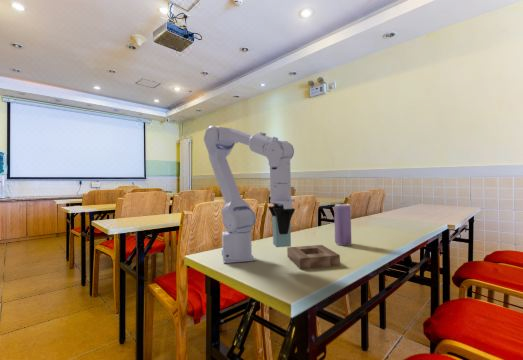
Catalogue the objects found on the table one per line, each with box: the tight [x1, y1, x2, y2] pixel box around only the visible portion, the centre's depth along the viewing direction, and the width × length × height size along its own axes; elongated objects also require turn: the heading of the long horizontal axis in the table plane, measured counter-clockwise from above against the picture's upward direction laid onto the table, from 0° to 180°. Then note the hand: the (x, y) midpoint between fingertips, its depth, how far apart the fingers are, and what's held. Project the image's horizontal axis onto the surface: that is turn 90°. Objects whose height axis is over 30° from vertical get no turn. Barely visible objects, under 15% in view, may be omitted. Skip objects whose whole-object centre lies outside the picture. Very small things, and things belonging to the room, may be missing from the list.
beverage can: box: [333, 203, 352, 247], centre depth 97 cm, size 6×6×15 cm
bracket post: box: [272, 216, 292, 248], centre depth 72 cm, size 4×4×8 cm
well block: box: [286, 244, 341, 270], centre depth 78 cm, size 12×12×3 cm
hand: (281, 232), depth 72 cm, fingers closed on bracket post, 4 cm apart
